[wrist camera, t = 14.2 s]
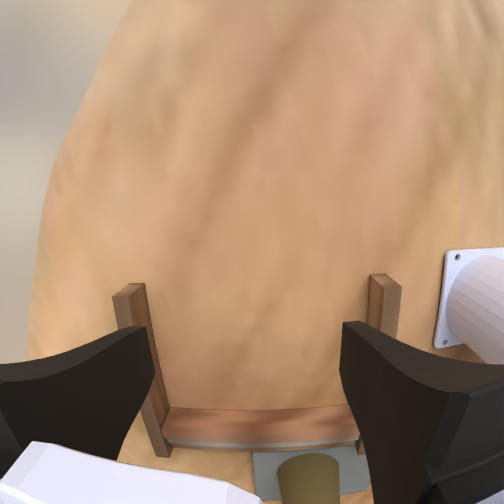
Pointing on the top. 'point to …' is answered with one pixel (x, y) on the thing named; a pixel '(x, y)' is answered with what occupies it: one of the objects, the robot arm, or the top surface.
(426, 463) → the robot arm
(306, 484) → the olive brown pear shape
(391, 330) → the offcut rack
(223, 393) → the top surface
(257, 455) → the slate tile
